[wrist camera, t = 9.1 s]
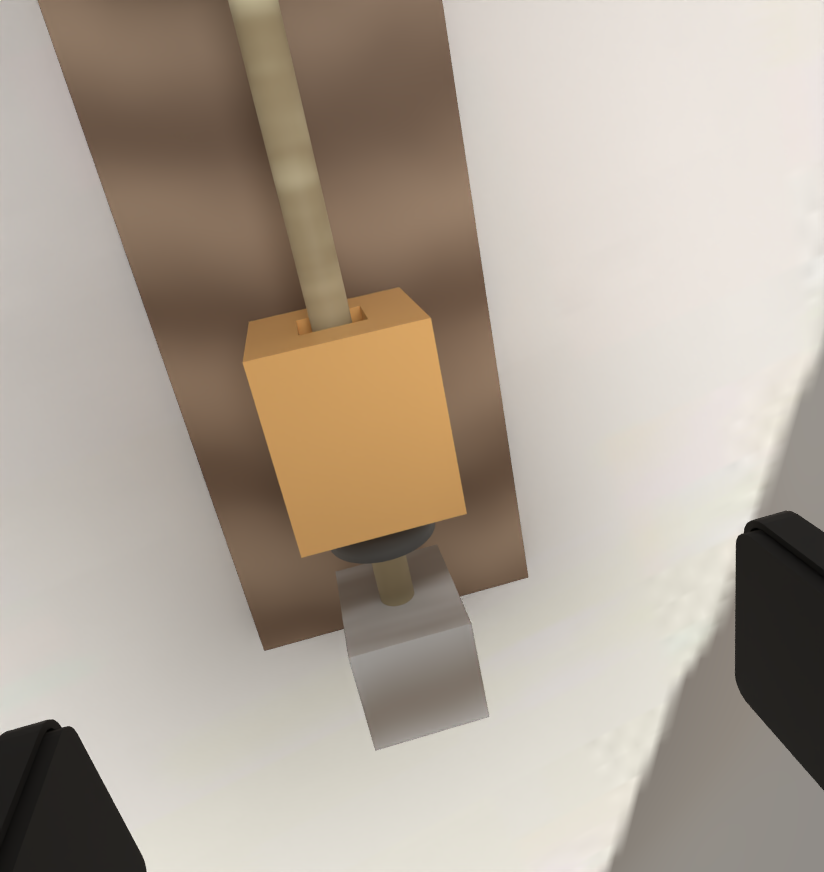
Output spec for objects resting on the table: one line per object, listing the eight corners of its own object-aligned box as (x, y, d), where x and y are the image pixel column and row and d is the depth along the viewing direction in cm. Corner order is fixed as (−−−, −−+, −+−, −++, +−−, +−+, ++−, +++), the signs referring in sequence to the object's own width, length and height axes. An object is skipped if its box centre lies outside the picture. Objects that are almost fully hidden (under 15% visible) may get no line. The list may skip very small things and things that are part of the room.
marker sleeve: (248, 321, 22) (242, 362, 18) (399, 287, 23) (430, 317, 18) (296, 484, 25) (301, 558, 20) (431, 450, 25) (466, 513, 20)
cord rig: (-1, -135, 20) (-180, -330, 12) (404, -200, 21) (480, -416, 13) (264, 636, 31) (261, 796, 23) (520, 565, 32) (600, 694, 24)
